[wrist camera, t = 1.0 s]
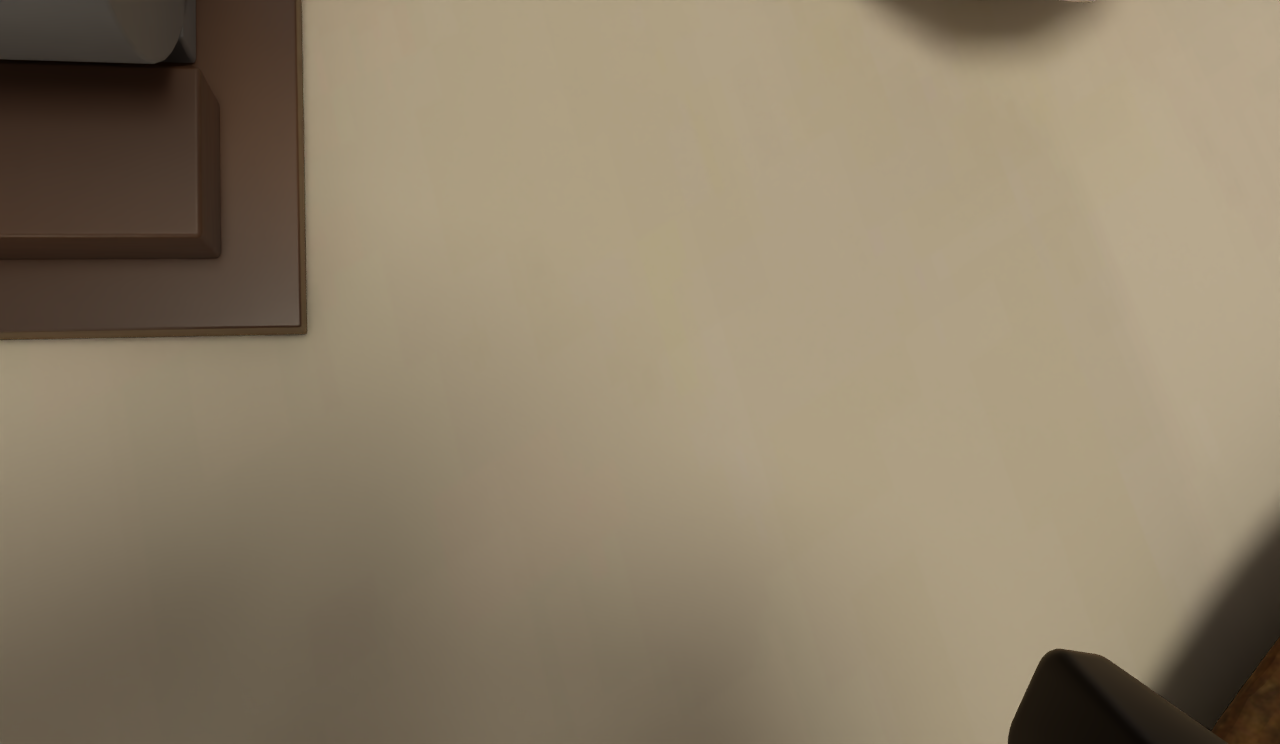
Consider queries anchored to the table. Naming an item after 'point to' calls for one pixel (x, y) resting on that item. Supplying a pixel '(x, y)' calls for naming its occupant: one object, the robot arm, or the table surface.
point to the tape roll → (99, 30)
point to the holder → (158, 187)
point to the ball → (1080, 0)
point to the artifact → (1255, 706)
